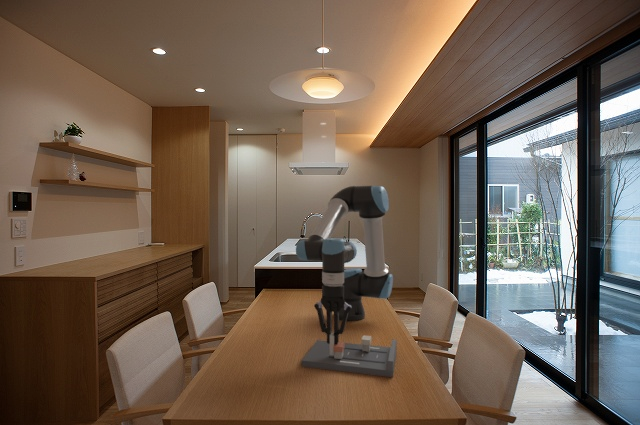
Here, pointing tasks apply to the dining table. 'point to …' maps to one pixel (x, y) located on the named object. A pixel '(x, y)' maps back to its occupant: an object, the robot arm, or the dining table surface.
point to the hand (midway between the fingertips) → (332, 353)
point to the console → (353, 359)
